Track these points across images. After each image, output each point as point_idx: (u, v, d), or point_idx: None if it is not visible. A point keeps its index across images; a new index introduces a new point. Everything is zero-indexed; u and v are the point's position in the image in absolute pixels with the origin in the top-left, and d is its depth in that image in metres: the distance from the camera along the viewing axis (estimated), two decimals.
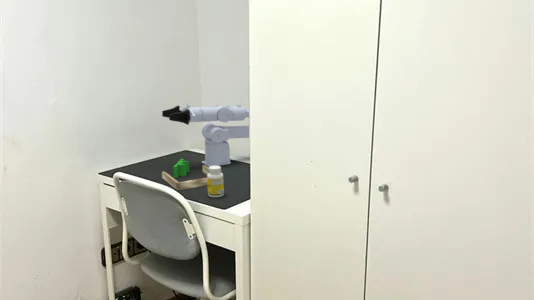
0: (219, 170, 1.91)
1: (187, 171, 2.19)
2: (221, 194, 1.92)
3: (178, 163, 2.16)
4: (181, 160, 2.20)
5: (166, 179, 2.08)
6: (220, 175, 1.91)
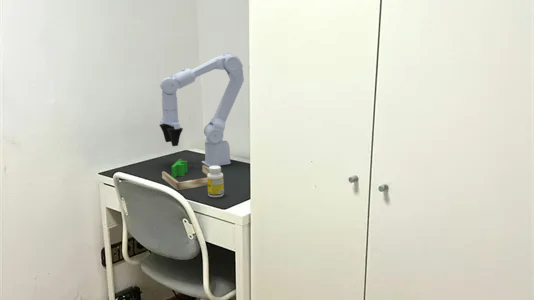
0: (219, 170, 1.91)
1: (185, 171, 2.19)
2: (221, 194, 1.92)
3: (176, 163, 2.16)
4: (179, 160, 2.20)
5: (166, 179, 2.08)
6: (220, 175, 1.91)
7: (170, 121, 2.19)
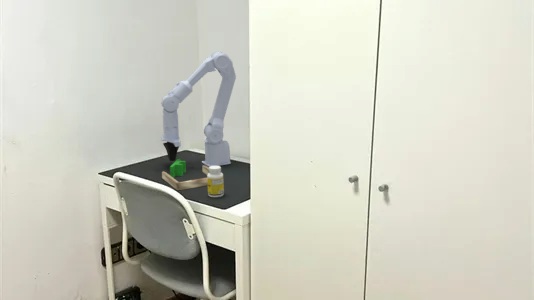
0: (219, 170, 1.91)
1: (184, 171, 2.19)
2: (221, 194, 1.92)
3: (175, 163, 2.16)
4: (178, 160, 2.20)
5: (166, 179, 2.08)
6: (220, 175, 1.91)
7: (171, 138, 2.21)
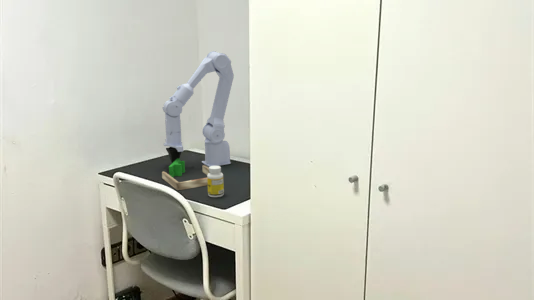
0: (219, 170, 1.91)
1: (183, 171, 2.19)
2: (221, 194, 1.92)
3: (174, 163, 2.16)
4: (177, 160, 2.20)
5: (166, 179, 2.08)
6: (220, 175, 1.91)
7: (173, 143, 2.19)
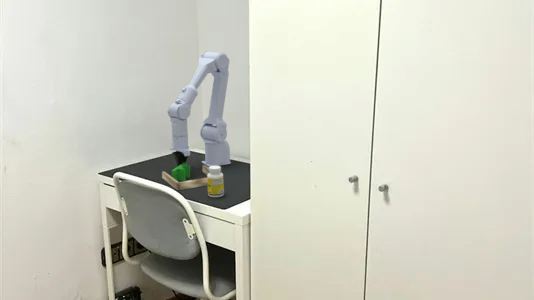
0: (219, 170, 1.91)
1: (188, 176, 2.13)
2: (221, 194, 1.92)
3: (178, 167, 2.10)
4: (183, 164, 2.14)
5: (166, 179, 2.08)
6: (220, 175, 1.91)
7: (180, 147, 2.13)
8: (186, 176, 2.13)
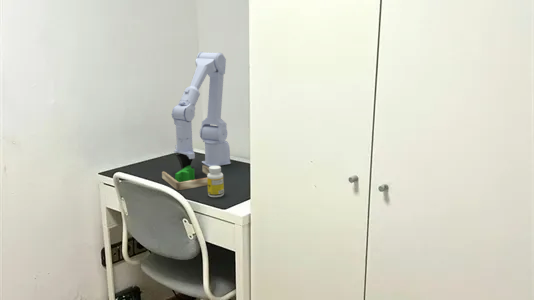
0: (219, 170, 1.91)
1: (192, 179, 2.09)
2: (221, 194, 1.92)
3: (182, 170, 2.06)
4: (187, 167, 2.10)
5: (166, 179, 2.08)
6: (220, 175, 1.91)
7: (184, 150, 2.09)
8: (190, 179, 2.09)
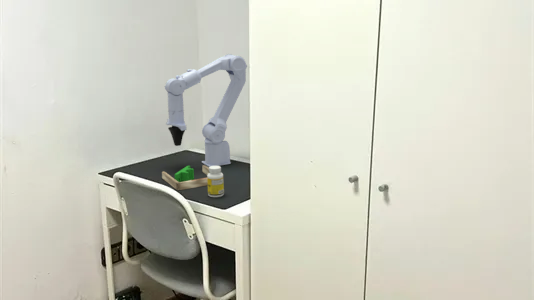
0: (219, 170, 1.91)
1: (192, 179, 2.10)
2: (221, 194, 1.92)
3: (182, 170, 2.07)
4: (186, 167, 2.11)
5: (166, 179, 2.08)
6: (220, 175, 1.91)
7: (176, 122, 2.17)
8: (190, 179, 2.10)
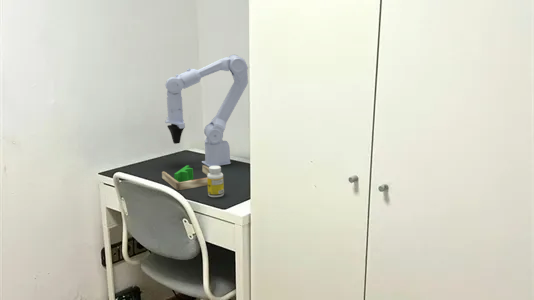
0: (219, 170, 1.91)
1: (191, 179, 2.10)
2: (221, 194, 1.92)
3: (181, 170, 2.07)
4: (186, 167, 2.11)
5: (166, 179, 2.08)
6: (220, 175, 1.91)
7: (175, 120, 2.20)
8: (189, 179, 2.10)
